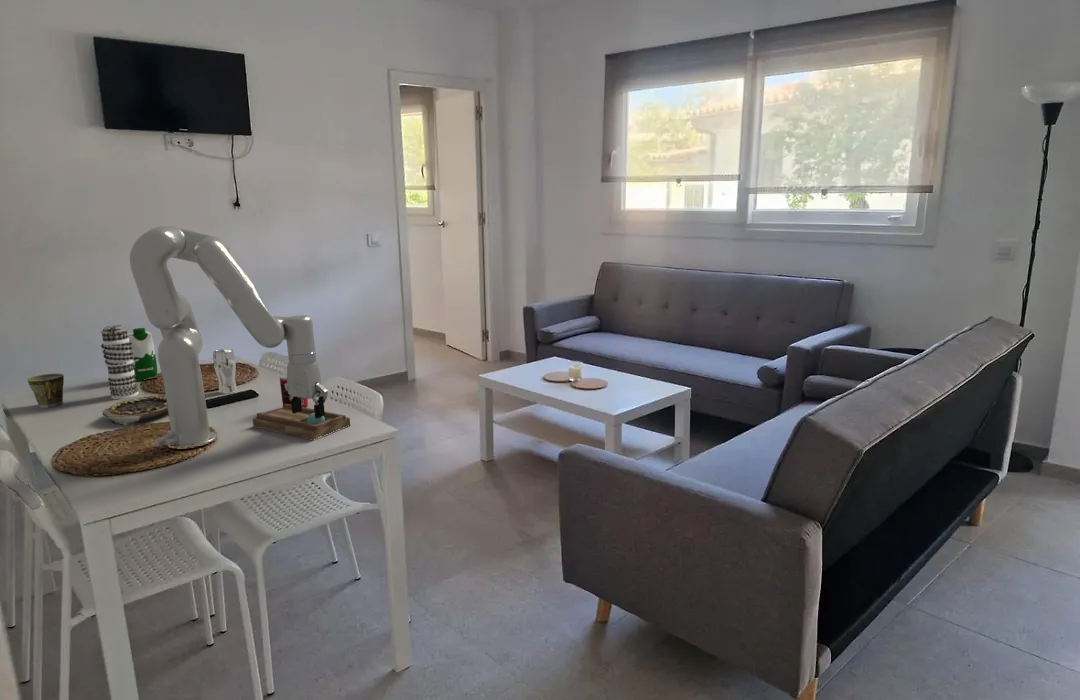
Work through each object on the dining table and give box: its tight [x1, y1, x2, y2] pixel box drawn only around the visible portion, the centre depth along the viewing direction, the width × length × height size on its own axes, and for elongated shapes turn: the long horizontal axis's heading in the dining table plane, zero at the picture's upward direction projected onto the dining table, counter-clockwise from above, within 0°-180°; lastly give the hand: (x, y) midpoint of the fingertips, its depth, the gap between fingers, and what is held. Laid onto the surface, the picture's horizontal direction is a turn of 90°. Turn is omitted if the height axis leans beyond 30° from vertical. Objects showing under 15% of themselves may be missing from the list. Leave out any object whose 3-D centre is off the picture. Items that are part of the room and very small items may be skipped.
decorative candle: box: [99, 324, 139, 400], centre depth 238 cm, size 9×9×25 cm
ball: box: [307, 413, 325, 425], centre depth 200 cm, size 5×5×5 cm
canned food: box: [279, 373, 309, 409], centre depth 220 cm, size 8×8×11 cm
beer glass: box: [212, 348, 238, 395], centre depth 240 cm, size 7×7×15 cm
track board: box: [252, 404, 351, 441], centre depth 202 cm, size 14×26×4 cm, turn 59°
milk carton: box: [127, 327, 158, 383], centre depth 261 cm, size 9×9×20 cm
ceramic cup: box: [27, 372, 64, 409], centre depth 229 cm, size 13×10×10 cm
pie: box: [101, 394, 169, 426], centre depth 217 cm, size 28×27×5 cm
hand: (308, 414), depth 200 cm, fingers open, 9 cm apart
